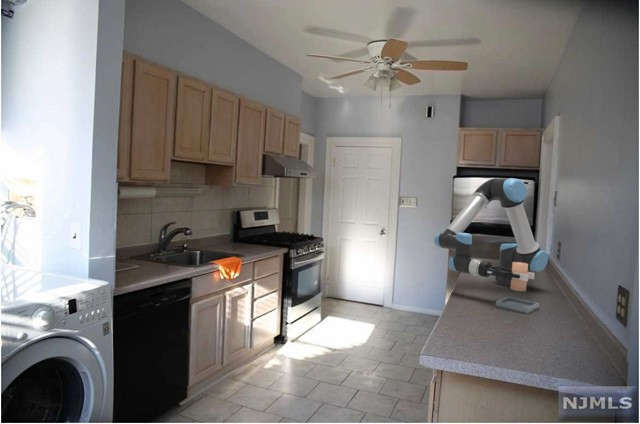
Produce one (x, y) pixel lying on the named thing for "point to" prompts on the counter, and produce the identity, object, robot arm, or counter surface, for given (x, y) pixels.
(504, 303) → the grey tray
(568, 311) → the counter surface
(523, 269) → the light orange tall cylinder
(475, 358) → the counter surface
